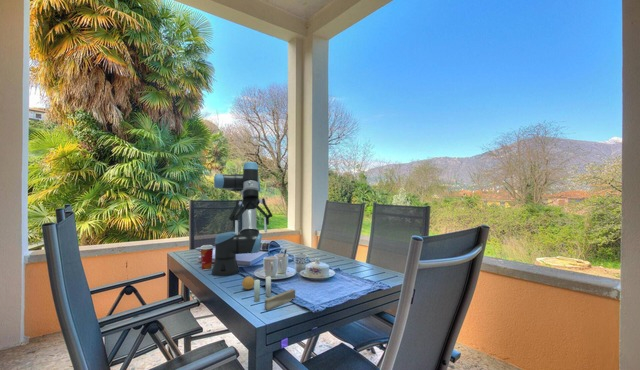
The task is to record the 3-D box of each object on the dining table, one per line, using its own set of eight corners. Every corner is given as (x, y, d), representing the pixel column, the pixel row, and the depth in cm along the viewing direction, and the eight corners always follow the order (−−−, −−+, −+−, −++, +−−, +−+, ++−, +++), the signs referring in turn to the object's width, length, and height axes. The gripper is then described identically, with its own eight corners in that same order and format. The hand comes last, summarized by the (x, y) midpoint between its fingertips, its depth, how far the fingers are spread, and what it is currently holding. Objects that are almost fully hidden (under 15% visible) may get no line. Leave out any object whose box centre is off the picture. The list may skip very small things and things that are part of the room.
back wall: (264, 309, 117) (264, 299, 117) (292, 297, 129) (292, 289, 129) (267, 310, 116) (267, 300, 116) (295, 298, 128) (295, 290, 128)
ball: (239, 289, 140) (239, 277, 140) (249, 286, 144) (249, 274, 144) (247, 292, 136) (247, 279, 136) (257, 288, 141) (257, 276, 141)
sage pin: (253, 301, 125) (253, 280, 125) (257, 299, 127) (257, 279, 127) (256, 302, 124) (256, 281, 124) (260, 300, 126) (260, 280, 126)
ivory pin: (264, 296, 130) (264, 277, 131) (268, 295, 132) (268, 275, 132) (267, 297, 129) (268, 278, 129) (272, 296, 131) (272, 276, 131)
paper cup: (199, 267, 177) (200, 245, 177) (213, 266, 180) (213, 244, 180) (199, 270, 170) (200, 247, 170) (213, 269, 173) (213, 246, 173)
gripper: (223, 190, 137) (221, 233, 129) (274, 186, 138) (276, 228, 130) (227, 196, 144) (226, 237, 136) (276, 191, 145) (278, 232, 137)
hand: (251, 233), depth 133 cm, fingers open, 13 cm apart
